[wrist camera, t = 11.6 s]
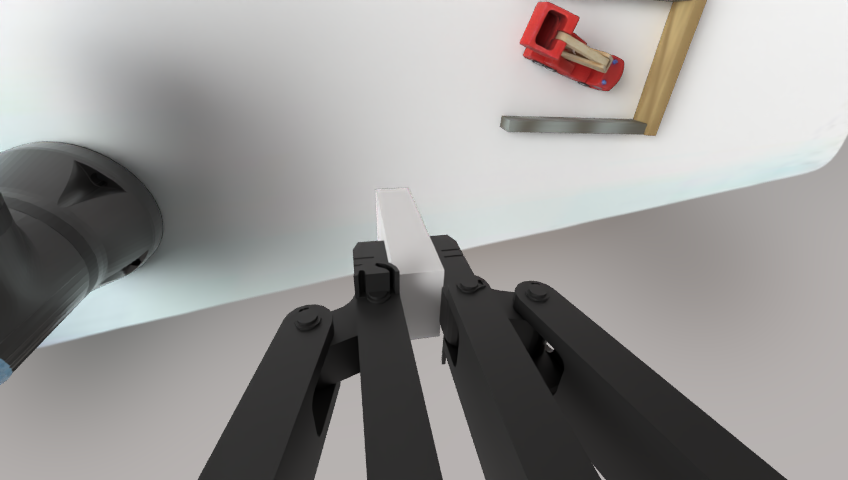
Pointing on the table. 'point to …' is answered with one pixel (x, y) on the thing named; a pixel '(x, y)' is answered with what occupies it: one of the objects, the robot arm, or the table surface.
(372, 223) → the table surface
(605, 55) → the toy fire truck
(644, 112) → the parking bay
